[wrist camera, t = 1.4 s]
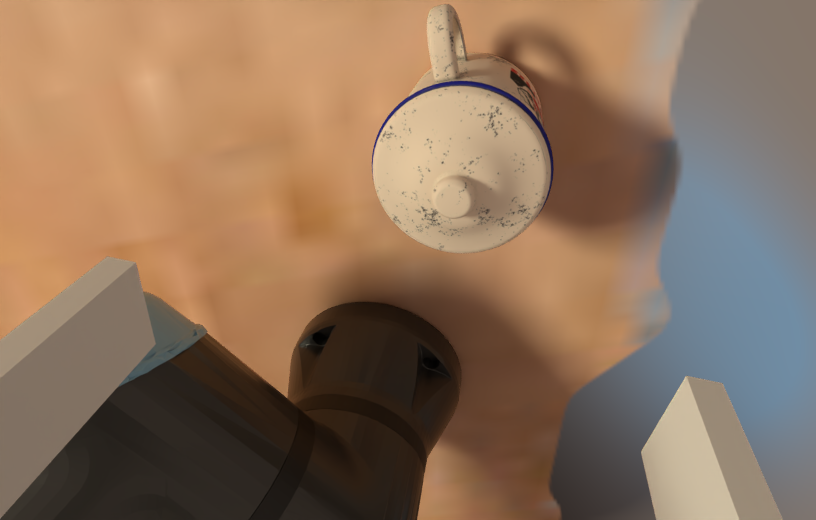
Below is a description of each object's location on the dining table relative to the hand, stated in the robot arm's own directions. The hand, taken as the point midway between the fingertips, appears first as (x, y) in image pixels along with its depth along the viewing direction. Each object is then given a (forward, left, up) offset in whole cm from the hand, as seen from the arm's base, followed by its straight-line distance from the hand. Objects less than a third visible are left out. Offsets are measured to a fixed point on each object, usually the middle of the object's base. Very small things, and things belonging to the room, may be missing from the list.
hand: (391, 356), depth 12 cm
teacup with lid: (0, 0, -24) cm, 24 cm away
